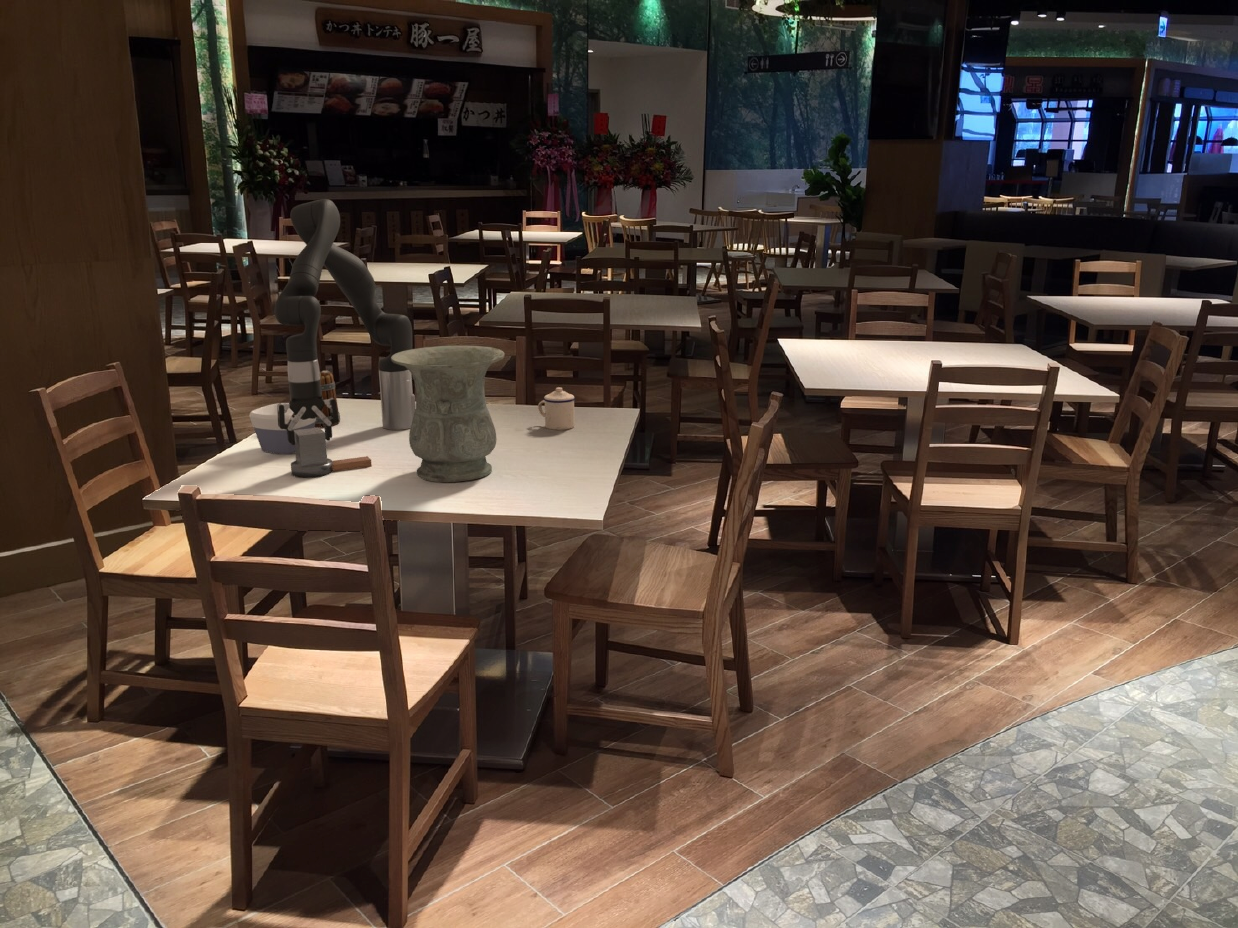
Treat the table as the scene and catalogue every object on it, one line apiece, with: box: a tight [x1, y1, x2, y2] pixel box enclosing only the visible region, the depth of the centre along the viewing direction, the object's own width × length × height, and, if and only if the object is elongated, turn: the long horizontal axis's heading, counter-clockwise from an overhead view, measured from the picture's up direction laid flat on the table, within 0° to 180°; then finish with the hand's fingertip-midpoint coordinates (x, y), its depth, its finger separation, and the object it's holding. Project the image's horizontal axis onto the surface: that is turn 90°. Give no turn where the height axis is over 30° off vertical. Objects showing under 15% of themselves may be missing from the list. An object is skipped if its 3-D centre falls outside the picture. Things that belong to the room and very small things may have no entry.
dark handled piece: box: [290, 455, 372, 479], centre depth 258 cm, size 20×10×8 cm, turn 118°
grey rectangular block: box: [294, 428, 328, 467], centre depth 255 cm, size 6×6×8 cm
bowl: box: [249, 402, 316, 455], centre depth 278 cm, size 15×15×11 cm
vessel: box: [391, 345, 505, 483], centre depth 252 cm, size 27×27×30 cm
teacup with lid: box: [537, 387, 576, 431], centre depth 302 cm, size 12×9×12 cm
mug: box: [315, 370, 341, 429], centre depth 308 cm, size 16×11×15 cm
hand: (310, 442), depth 255 cm, fingers open, 8 cm apart
